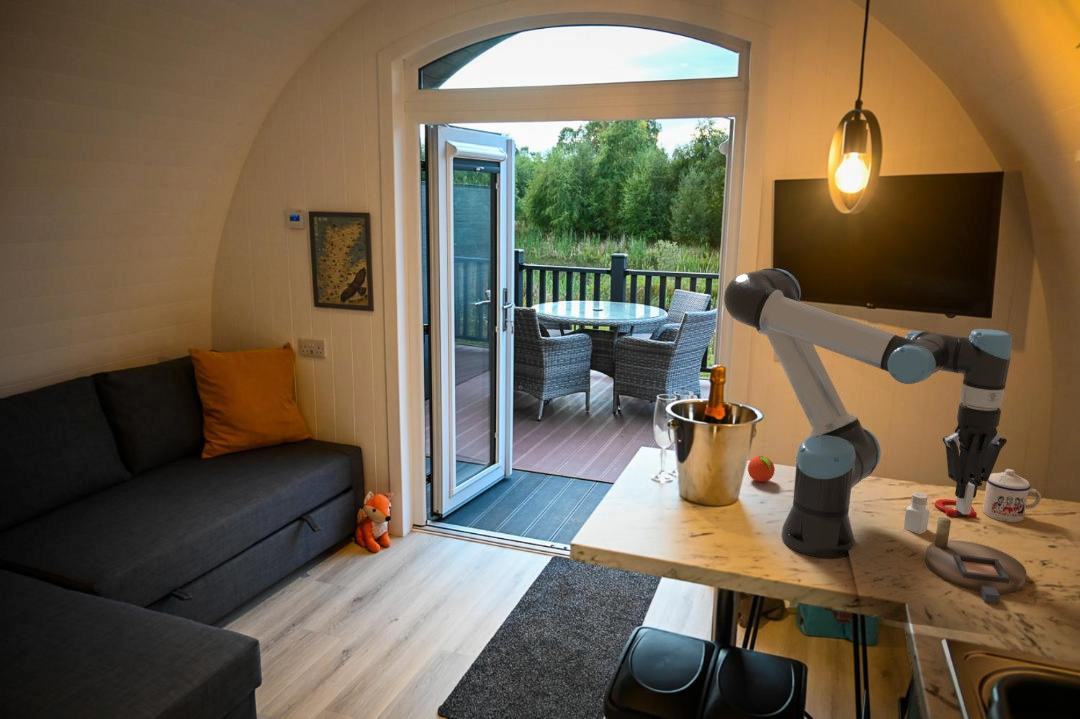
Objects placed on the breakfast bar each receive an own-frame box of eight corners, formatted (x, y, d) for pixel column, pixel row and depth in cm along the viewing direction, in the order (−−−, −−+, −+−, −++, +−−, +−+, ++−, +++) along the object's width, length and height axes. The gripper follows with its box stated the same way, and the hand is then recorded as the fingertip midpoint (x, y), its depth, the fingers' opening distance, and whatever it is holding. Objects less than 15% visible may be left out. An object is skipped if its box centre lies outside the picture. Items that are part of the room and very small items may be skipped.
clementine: (781, 486, 200) (783, 461, 198) (757, 489, 198) (759, 463, 196) (764, 475, 207) (766, 450, 205) (742, 477, 205) (743, 453, 204)
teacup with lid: (988, 521, 180) (995, 475, 178) (976, 505, 189) (983, 461, 186) (1044, 526, 178) (1052, 480, 175) (1029, 510, 186) (1037, 466, 184)
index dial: (991, 602, 144) (997, 564, 142) (906, 560, 159) (910, 526, 157) (1043, 579, 152) (1050, 542, 150) (958, 541, 167) (963, 508, 165)
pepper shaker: (919, 539, 171) (924, 500, 169) (901, 532, 174) (906, 494, 172) (927, 534, 174) (932, 495, 171) (910, 527, 177) (915, 490, 174)
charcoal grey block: (983, 607, 144) (985, 593, 143) (979, 599, 147) (981, 585, 146) (997, 609, 143) (1000, 595, 143) (993, 601, 146) (995, 587, 145)
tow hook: (929, 502, 192) (943, 516, 183) (936, 453, 189) (949, 465, 180) (965, 504, 190) (980, 519, 181) (971, 455, 188) (987, 468, 179)
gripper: (962, 411, 150) (944, 520, 156) (1023, 410, 151) (1003, 518, 157) (939, 400, 157) (923, 504, 163) (997, 399, 159) (979, 502, 164)
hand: (962, 511), depth 160 cm, fingers closed
